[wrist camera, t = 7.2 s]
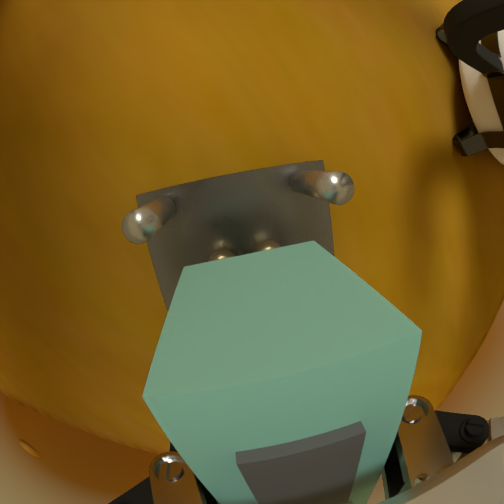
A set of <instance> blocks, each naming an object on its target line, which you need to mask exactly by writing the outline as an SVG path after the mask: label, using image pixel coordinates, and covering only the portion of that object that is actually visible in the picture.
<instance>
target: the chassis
mask: <svg viewBox="0 0 504 504" xmlns="http://www.w3.org/2000/svg"><path fill="white" fill-rule="evenodd" d="M353 193H354V184H353V181H352V179H351V178H350V176H349V175H347V174H346V173H344V172H334V171H325V170H324V163H323V160H318V161H310V162H302V163H295V164H288V165H281V166H274V167H268V168H262V169H256V170H250V171H244V172H239V173H234V174H228V175H223V176H218V177H213V178H208V179H203V180H199V181H194V182H189V183H185V184H181V185H176V186H172V187H168V188H164V189H160V190H156V191H152V192H148V193H144V194H140V195H137V196H136V198H137V203H138V207H139V208H137V209H135V210H133V211H131V212H129V213H128V214H127V215H126V216H125V218H124V219H123V222H122V230H123V233H124V236H125V237H126V238H127V239H128V240H129V241H130V242H132V243H135V244H143V243H145V242H147V244H148V247H149V251H150V255H151V258H152V262H153V265H154V269H155V272H156V276H157V279H158V282H159V286H160V289H161V292H162V295H163V298H164V301H165V304H166V307H167V310H168V311H169V308H170V305H171V302H172V299H173V296H174V293H175V290H176V287H177V285H178V282H179V279H180V276H181V273H182V271H183V268H184V267H185V266H190V265H195V264H200V263H205V262H210V261H215V260H220V259H225V258H230V257H235V256H240V255H245V254H250V253H254V252H259V251H264V250H269V249H274V248H279V247H284V246H289V245H294V244H299V243H304V242H309V241H315V242H316V243H318V244H319V245H320V246H322V247H323V248H324V249H325V250H327V251H328V252H329V253H330V254H332V255H333V256H334V247H333V236H332V226H331V216H330V208H329V202H330V203H333V204H336V205H342V204H345V203H347V202H348V201H349V200H350V199H351V198H352V196H353Z"/></svg>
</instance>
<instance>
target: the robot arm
mask: <svg viewBox="0 0 504 504" xmlns="http://www.w3.org/2000/svg"><path fill="white" fill-rule="evenodd" d="M381 473H382V479H383V486H384V492H385V499H386V500H385V501H383V502H380V503H378V504H504V417H497V418H490V420H489V421H486V420H485V419H484V418H482V417H480V416H477V415H468V414H458V413H450V412H442V411H436V410H434V408H433V406H432V404H431V403H430V401H429V400H427V399H426V398H424V397H422V396H417V395H411V396H408V399H407V403H406V406H405V409H404V413H403V416H402V419H401V422H400V425H399V428H398V431H397V434H396V437H395V440H394V442H393V445H392V448H391V450H390V453H389V455H388V458H387V460H386V463H385V465H384V468H383V470H382V472H381ZM109 504H220V503H219V502H218V501H217V500H216V499H215V498H214V496H213V495H212V494H211V493H210V492H209V491H208V490H207V488H206V487H205V486H204V485H203V484H202V482H201V481H200V480H199V479H198V478H197V476H196V475H195V474H194V473H193V471H192V470H191V469H190V467H189V466H188V465H187V464H186V462H185V461H184V460H183V458H182V457H181V456H180V454H179V453H178V451H177V450H176V449H175V447H174V446H173V444H172V443H170V452H165V453H162V454H160V455H158V456H156V457H155V458H154V459H153V460H152V462H151V464H150V466H149V477H148V478H146V479H145V480H143V481H142V482H140V483H139V484H138V485H136V486H135V487H133V488H132V489H130V490H129V491H127V492H126V493H124V494H123V495H121V496H120V497H118V498H116V499H115V500H113V501H112V502H110V503H109Z"/></svg>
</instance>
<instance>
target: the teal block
mask: <svg viewBox="0 0 504 504" xmlns="http://www.w3.org/2000/svg"><path fill="white" fill-rule="evenodd" d="M421 336H422V330H421V329H420V328H419V327H417V326H416V325H415V324H414V323H413V322H412V321H411V320H410V319H408V318H407V317H406V316H405V315H404V314H403V313H402V312H400V311H399V310H398V309H397V308H396V307H395V306H393V305H392V304H391V303H390V302H389V301H388V300H386V299H385V298H384V297H383V296H382V295H381V294H379V293H378V292H377V291H376V290H375V289H373V288H372V287H371V286H370V285H369V284H367V283H366V282H365V281H364V280H363V279H361V278H360V277H359V276H358V275H356V274H355V273H354V272H353V271H352V270H350V269H349V268H348V267H347V266H345V265H344V264H343V263H342V262H340V261H339V260H338V259H337V258H335V257H334V256H333V255H332V254H330V253H329V252H328V251H327V250H325V249H324V248H323V247H322V246H320V245H319V244H318V243H316V242H315V241H309V242H304V243H299V244H294V245H289V246H284V247H279V248H274V249H269V250H264V251H259V252H254V253H250V254H245V255H240V256H235V257H230V258H225V259H220V260H215V261H210V262H205V263H200V264H195V265H190V266H185V267H184V268H183V271H182V273H181V276H180V279H179V282H178V285H177V287H176V290H175V293H174V296H173V299H172V302H171V305H170V308H169V311H168V314H167V317H166V320H165V323H164V326H163V329H162V332H161V335H160V338H159V341H158V345H157V348H156V351H155V354H154V357H153V361H152V364H151V367H150V371H149V374H148V378H147V381H146V385H145V388H144V392H143V395H142V397H143V399H144V401H145V402H146V404H147V406H148V407H149V409H150V411H151V412H152V414H153V416H154V417H155V419H156V420H157V422H158V424H159V425H160V427H161V428H162V430H163V431H164V433H165V434H166V436H167V437H168V439H169V440H170V441H171V443H172V444H173V446H174V447H175V449H176V450H177V451H178V453H179V454H180V456H181V457H182V458H183V460H184V461H185V462H186V464H187V465H188V466H189V467H190V469H191V470H192V471H193V473H194V474H195V475H196V476H197V478H198V479H199V480H200V481H201V482H202V484H203V485H204V486H205V487H206V488H207V490H208V491H209V492H210V493H211V494H212V495H213V496H214V498H215V499H216V500H217V501H218V502H219V503H220V504H366V503H367V501H368V499H369V498H370V495H371V494H372V492H373V489H374V487H375V485H376V483H377V481H378V479H379V476H380V474H381V472H382V470H383V468H384V465H385V463H386V460H387V458H388V455H389V453H390V450H391V448H392V445H393V442H394V440H395V437H396V434H397V431H398V428H399V425H400V422H401V419H402V416H403V413H404V409H405V406H406V403H407V399H408V395H409V392H410V388H411V384H412V380H413V376H414V371H415V367H416V362H417V358H418V353H419V347H420V342H421Z"/></svg>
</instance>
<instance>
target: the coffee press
mask: <svg viewBox="0 0 504 504" xmlns="http://www.w3.org/2000/svg"><path fill="white" fill-rule="evenodd" d="M443 30H444V31H443ZM436 35H437V37H438V39H439V40H440V41H442V42H443V43H445V44H447V45H448V47H449V49H450V50H451V52H452V53H453V54H454V55H455V56H456V57H457V58H458V59H459V70H460V77H461V83H462V87H463V92H464V96H465V99H466V102H467V106H468V109H469V111H470V114H471V117H472V119H473V123H472V124H471V125H470V126H468V127H467V128H465V129H463V130H462V131H460V132H458V133H457V134H456V135H455V136H454V137H453V141H454V143H455V145H456V146H457V148H458V150H459V152H460V153H461V155H462V156H465V157H466V156H470V155H472V154H475V153H477V152H479V151H482V150H485V149H489V151H490V152H491V153H492V155H493V156H494V157H495V158H496V159H497V160H498V161H499V162H500V163H501V164H503V165H504V0H462V1H461V2H459V3H458V4H457V5H455V6H454V7H453V8H452V9H451V10H450V11H449V12H448V13H447V15H446V17H445V19H444V23H443V24H442V25H441V26H440V27H439V28H437V30H436Z"/></svg>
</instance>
